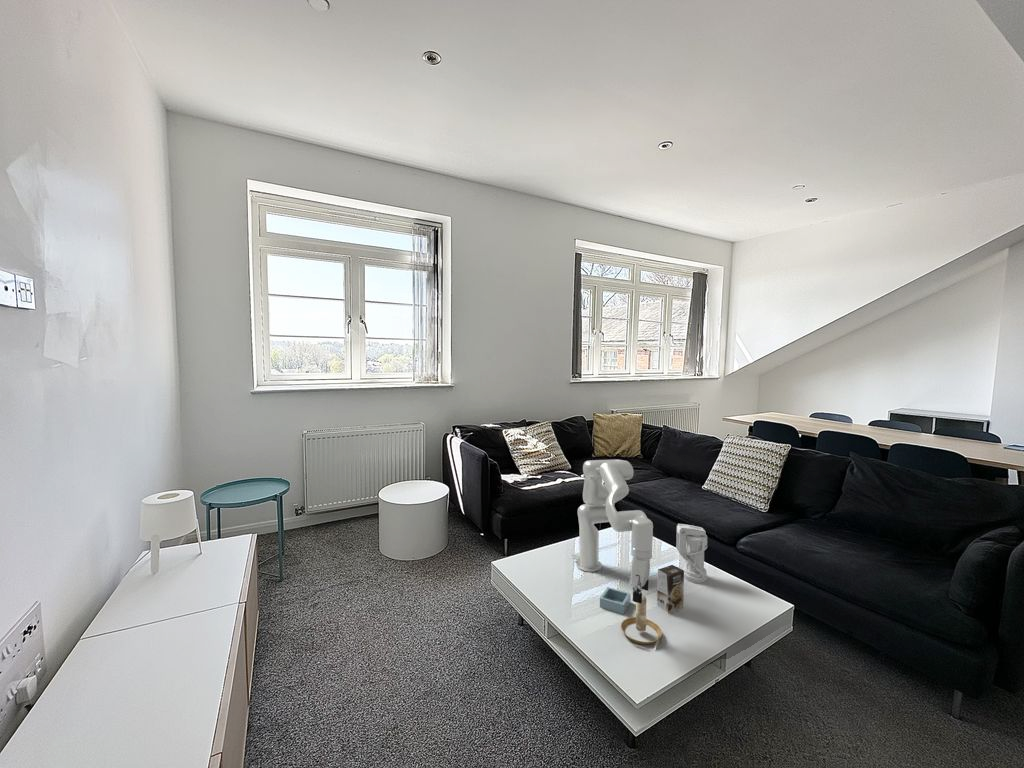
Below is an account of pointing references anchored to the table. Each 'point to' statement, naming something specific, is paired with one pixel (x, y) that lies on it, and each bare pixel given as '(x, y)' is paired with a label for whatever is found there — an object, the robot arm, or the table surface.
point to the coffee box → (670, 588)
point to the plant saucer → (648, 622)
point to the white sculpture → (692, 551)
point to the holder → (615, 600)
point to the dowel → (641, 615)
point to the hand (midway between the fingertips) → (640, 595)
